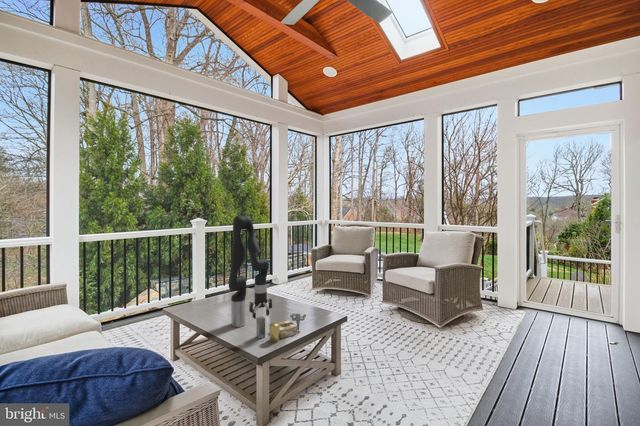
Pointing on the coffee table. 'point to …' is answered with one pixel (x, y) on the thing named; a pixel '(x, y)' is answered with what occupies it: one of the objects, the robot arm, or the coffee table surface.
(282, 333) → the socket block
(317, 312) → the coffee table surface
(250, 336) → the coffee table surface
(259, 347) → the coffee table surface
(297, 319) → the mechanical component
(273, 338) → the round brass bit
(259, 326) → the bar
